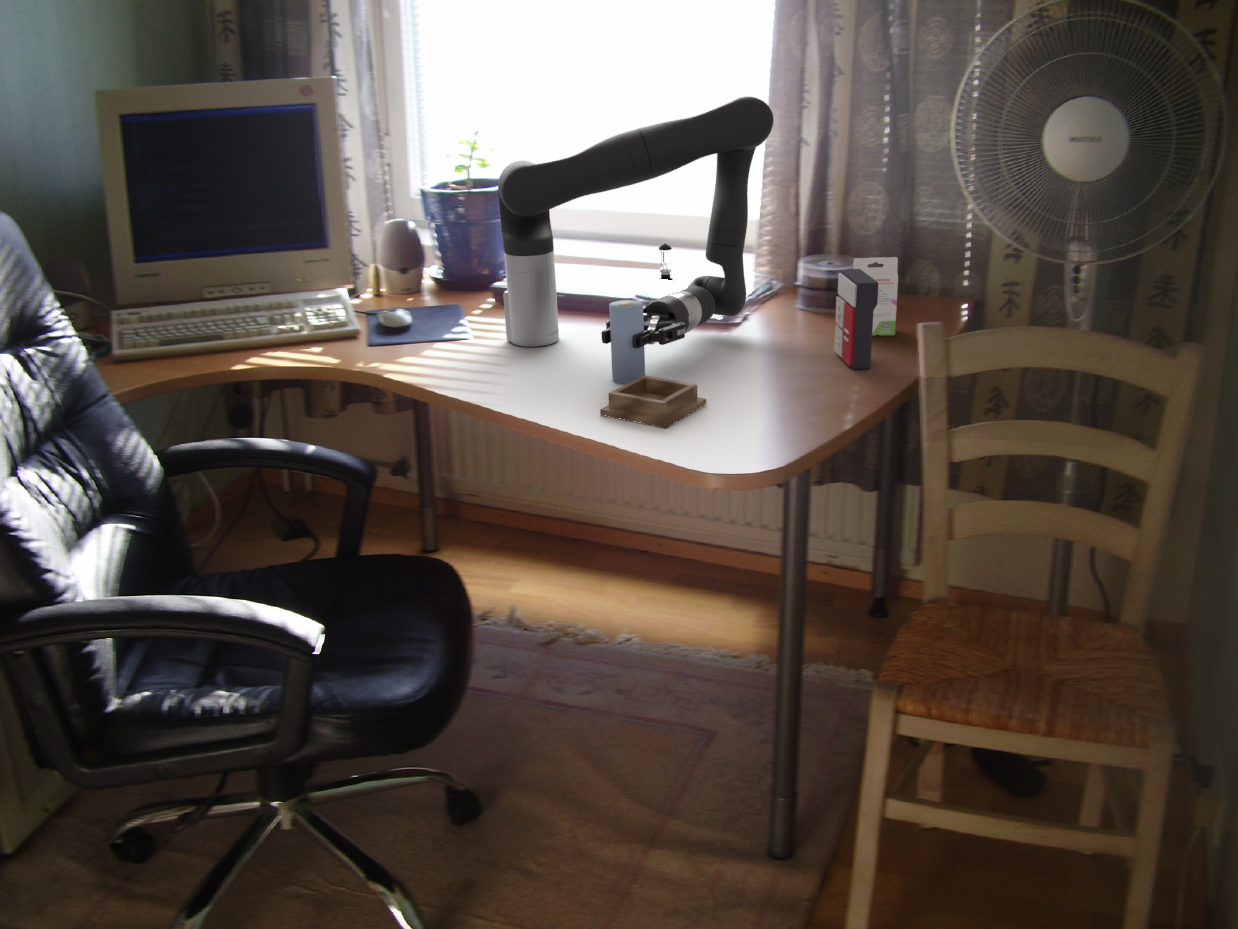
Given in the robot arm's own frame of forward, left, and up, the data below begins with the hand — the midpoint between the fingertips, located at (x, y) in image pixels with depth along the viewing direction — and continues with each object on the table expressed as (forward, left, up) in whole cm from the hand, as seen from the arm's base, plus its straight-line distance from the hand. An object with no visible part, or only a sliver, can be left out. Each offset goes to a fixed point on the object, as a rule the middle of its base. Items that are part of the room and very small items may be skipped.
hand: (619, 340), depth 179 cm
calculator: (+29, +30, -8) cm, 42 cm away
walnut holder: (+12, -8, -8) cm, 17 cm away
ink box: (+25, +48, -8) cm, 54 cm away
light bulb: (-23, +52, -8) cm, 57 cm away
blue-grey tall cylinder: (0, +3, -8) cm, 8 cm away
